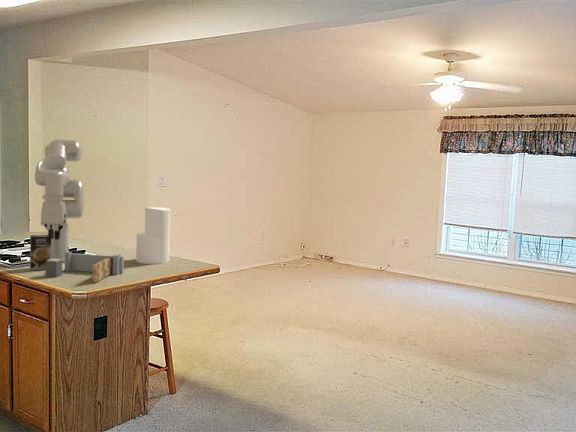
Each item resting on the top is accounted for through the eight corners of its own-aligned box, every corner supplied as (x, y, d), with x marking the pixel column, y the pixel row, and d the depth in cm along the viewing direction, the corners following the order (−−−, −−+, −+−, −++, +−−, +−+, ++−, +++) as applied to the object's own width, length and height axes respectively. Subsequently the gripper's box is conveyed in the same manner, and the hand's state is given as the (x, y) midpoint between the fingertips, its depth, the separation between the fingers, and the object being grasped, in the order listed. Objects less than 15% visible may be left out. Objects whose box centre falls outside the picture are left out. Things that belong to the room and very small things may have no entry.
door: (109, 272, 262) (109, 256, 261) (113, 273, 262) (113, 256, 261) (91, 282, 242) (92, 264, 241) (95, 282, 241) (96, 264, 241)
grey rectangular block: (45, 276, 250) (45, 260, 249) (51, 274, 255) (51, 258, 254) (56, 277, 249) (56, 260, 248) (61, 275, 254) (61, 258, 253)
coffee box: (30, 270, 260) (30, 236, 258) (29, 268, 266) (29, 234, 264) (51, 269, 264) (51, 236, 262) (50, 267, 270) (50, 234, 268)
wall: (62, 271, 262) (62, 252, 261) (67, 269, 266) (67, 250, 265) (119, 275, 260) (120, 256, 259) (123, 273, 264) (123, 254, 263)
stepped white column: (157, 256, 309) (158, 206, 306) (175, 261, 297) (177, 209, 294) (130, 259, 297) (130, 207, 294) (147, 265, 285) (148, 211, 282)
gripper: (32, 198, 245) (32, 239, 247) (67, 200, 244) (67, 241, 246) (41, 197, 252) (41, 236, 254) (75, 199, 251) (75, 239, 253)
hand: (54, 238), depth 250 cm, fingers closed
